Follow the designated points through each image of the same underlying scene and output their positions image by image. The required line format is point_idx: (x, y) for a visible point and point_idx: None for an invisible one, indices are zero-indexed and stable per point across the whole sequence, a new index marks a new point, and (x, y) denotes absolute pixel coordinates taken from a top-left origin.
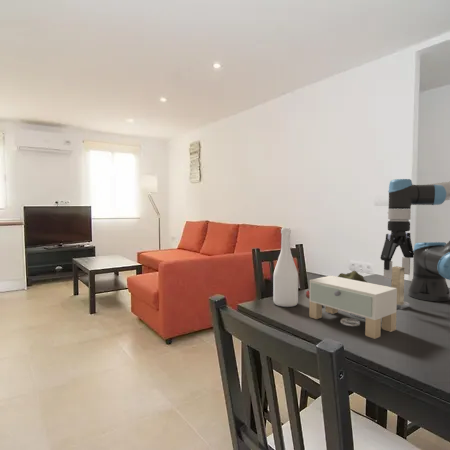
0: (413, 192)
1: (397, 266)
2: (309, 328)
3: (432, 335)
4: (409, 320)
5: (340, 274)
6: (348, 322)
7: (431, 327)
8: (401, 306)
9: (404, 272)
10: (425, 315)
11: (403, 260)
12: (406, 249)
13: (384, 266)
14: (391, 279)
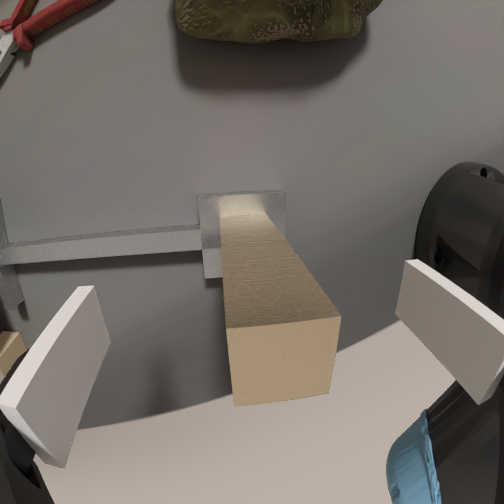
0: None
1: (338, 332)
2: None
3: (84, 411)
4: (115, 348)
5: None
6: None
7: (125, 398)
8: (206, 276)
9: (408, 288)
10: (216, 353)
11: (483, 334)
12: (500, 496)
13: (11, 373)
14: (222, 262)
